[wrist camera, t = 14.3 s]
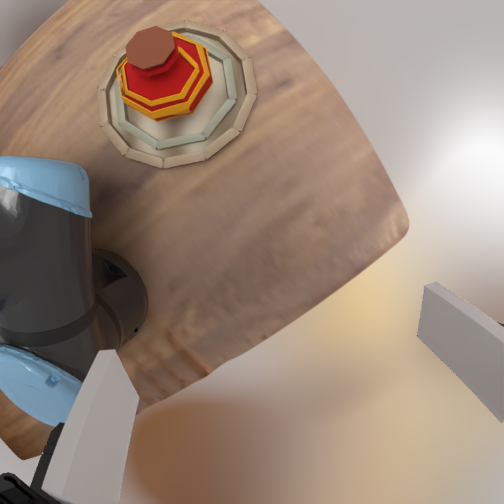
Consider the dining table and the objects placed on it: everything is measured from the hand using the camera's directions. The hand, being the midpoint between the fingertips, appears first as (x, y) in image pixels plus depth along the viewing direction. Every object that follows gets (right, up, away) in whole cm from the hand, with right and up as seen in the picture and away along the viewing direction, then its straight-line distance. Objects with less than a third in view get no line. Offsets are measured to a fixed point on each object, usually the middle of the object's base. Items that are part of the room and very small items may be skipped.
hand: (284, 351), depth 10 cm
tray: (-11, +25, +21) cm, 34 cm away
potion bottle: (-11, +24, +20) cm, 33 cm away
